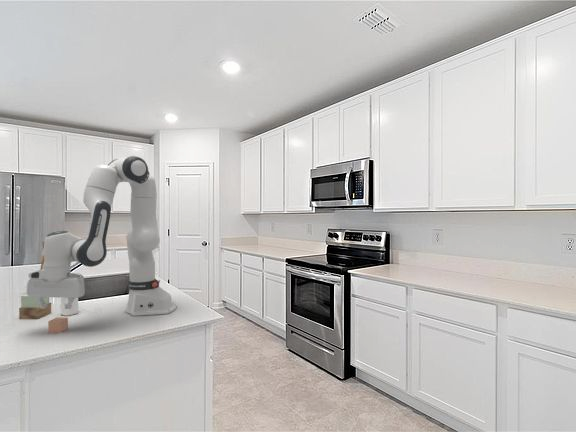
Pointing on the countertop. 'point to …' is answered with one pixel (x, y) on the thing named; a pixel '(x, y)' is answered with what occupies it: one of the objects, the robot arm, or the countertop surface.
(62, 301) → the can
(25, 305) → the tower top
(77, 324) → the countertop surface
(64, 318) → the cube
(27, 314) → the tower base
